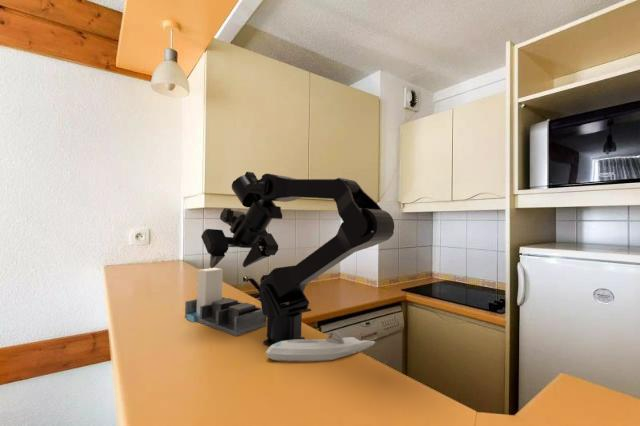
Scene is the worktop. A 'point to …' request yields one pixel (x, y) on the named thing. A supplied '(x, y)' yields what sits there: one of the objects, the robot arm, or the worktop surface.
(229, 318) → the rack
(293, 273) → the robot arm
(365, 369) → the worktop surface
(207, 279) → the white rectangular block
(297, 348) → the white toy boat
